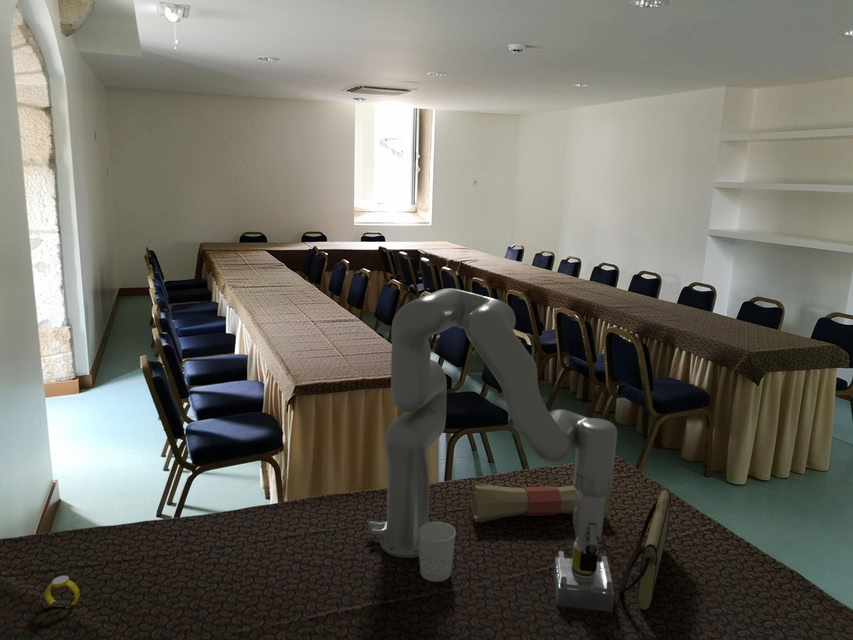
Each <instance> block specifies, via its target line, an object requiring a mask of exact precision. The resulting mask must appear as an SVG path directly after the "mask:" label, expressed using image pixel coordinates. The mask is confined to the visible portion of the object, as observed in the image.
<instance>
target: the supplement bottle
mask: <svg viewBox="0 0 853 640" xmlns="http://www.w3.org/2000/svg"><path fill="white" fill-rule="evenodd" d="M585 537H589V535H585ZM575 540H576V541H574V543H573V547H572V548H573V550H572V558H571V559H572V572H573V573H574V574H575V575H576V576H578V577H581V578H591V577H593V576H594V574H595V572H590V571H581V570H580V558H581V551H583V540H581V539H579V540H578V539H577V538H576V537H575ZM587 545H588V546H589V541H586V547H587Z"/></svg>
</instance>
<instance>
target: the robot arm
mask: <svg viewBox="0 0 853 640" xmlns="http://www.w3.org/2000/svg"><path fill="white" fill-rule="evenodd" d="M516 322H517V321H516V314H515V312H514V310H513V308H512V307H511V306H510V305H509V304H507V303H506V302H504V301H502V300H500V299H496V298H492V297H489V296H486V295H485V296H484V295H482V294H477V293H473V292H469V291H466V290H462V289H457V288H449V287H448V288H443V289H439V290H437V291H435V292H434V291H433V292H431V293H428V294H426V295H422V296H420V297H418V298H416V299H413V300H411V301H409V302H407V303H406V304H404V305H402V306H401V307H400V308H399V309H398V310H397V312H396V313H395V315H394V317H393V319H392V322H391V323H392V324H391V330H390V331H391V333H390V335H391V362H390V364H391V366H390V368H391V369H390V370H391V371H390V372H391V373H390V374H391V375H390V376H391V377H390V397H391V400H392V402H393V404H394V406H395V407H396V408H397V409H398V410H400V411H403V412H404V413H402V414H401V415H399V416H398V417H397V418H395V419H394V420H392V422H391V424H389V426H388V428H387V430H386V432H385V435H384V448H385V453H386V463H387V466H386V467H387V486H386V487H387V488H386V489H387V491H386V492H387V496H386V521H384V520H383V521H382V522H379V521H373V520H372V521H369V522H368V527H367V528H368V530H369V531H371V532H370V533H371V535H372V536H379V545H380V548H381V549H382V550H383V551H384V553H387V554H388V555H390V556H393V557H396V558H404V559H412V558H418V557H419V528H420V527H421V526H422V525H423V524H426V523H429V504H430V503H429V497H430V496H429V495H430V465H429V462H428V455H427V453H428V449H429V448H430V447H431V446H432V445H433V444H434V443H435V442H436V441H438V440H439V438H440V437H441V436H442V434H443V433H444V430H445V428H446V422H447V421H446V420H447V398H448V397H447V396H448V395H447V390H448V389H447V387H448V384H447V377H446V373H445V371H444V369H443V367H442V366H441V365H440V363H438V362H437V361H435V360H433V359H431V354H432V353H431V352H432V351H431V345H430V341H429V338H430V337H432V336H434V335H437V334H440V333H443V332H445V331H447V330H449V329H451V328H452V327H455V328H459V329H463V330H464V332H465V336H466V337H467V339H468V341H469V342H470V343H471V345H472V346H473V347H474V349H475V350H476V352H477V354H478V355H479V356H480V357H481V359H482V360H483V362H484V363H485V364H486V367H487V368H488V369H489V371H490V373H492V375H493V376H494V377H495V379H496V382H498V384H499V386H500V387H501V390H502V394H503V398H504V400H505V403H506V406H507V407H506V408H507V409H508V413H509V415H510V417H511V420H512V422H513V424H514V425H515V427H516V428H517V430H518V432H519V433H520V435H521V436H522V437H523V438H522V439H524V441H525V442H526V443H527V445H528V446H529V448H530V449H531V450H532V451H533V452H534V454H535V455H536V456H538V457H539V458H540V459H542V460H543V461H546V462H551V463H553V462H554V463H555V462H559V461H562V460H563V459H565V458H566V457H567V456H568V454H569V453H570V451H571V450H572V449H575V456H574V457H575V459H574V468H573V469H574V470H573V480H572V485H573V486H574V488H575V489H576V495H575V503H574V510H573V514H572V523H573V530H574V535H575V541H576V538H577V539H578V540H579V539H581V540H583V551H581V558H580V570H581V571H590V572H596V568H597V561H598V558H599V557H598V556H599V552H598V551H599V550H598V549H599V548H598V545H599V544H598V542H600V541H602V535H603V534H602V533H603V528H604V527H603V526H604V512H605V511H604V506H605V495H607V494H609V495H610V493H611V492H612V486H613V477H614V476H613V475H614V467H615V466H614V465H615V460H616V459H615V457H616V447H617V439H618V429H617V427H616V425H615V424H614V423H613V422H611V421H609V420H606V419H604V418H603V419H602V418H599V417H598V418H597V417H596V418H595V417H593V418H592V417H588V416H585V415H581V414H578V413H576V412H572V411H569V410H566V409H554V410H551V411H549V410H548V408H547V407H546V404H545V402H544V400H543V397H542V395H541V393H540V388H539V382H538V380H539V379H538V377H539V375H538V368H537V363H536V361H535V360H534V358H533V357H532V355H531V353H529V351H528V350H527V349H526V347H525V346H524V344H523V343H522V341H521V340H520V338H519V337H518V336H517V334H516V333H515V331H514V329H515V327H516ZM585 535H589V537H585ZM575 541H574V542H575ZM586 541H589V546H588V545H587V547H586Z"/></svg>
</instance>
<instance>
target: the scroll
mask: <svg viewBox="0 0 853 640" xmlns="http://www.w3.org/2000/svg"><path fill="white" fill-rule="evenodd" d="M471 486H472V487H471V498H470V499H469V500H470V509H471V510H472V511H471V516H473V515H474V516H473V519H474V518H475V519H476V520H475V519H474V521H475V523H476V522H478V523H479V522H480V523H485V522H490V521H493V520H497V519H502V518H508V517H514V516H521V515H523V516H524V517H539V516H542V517H543V516H545V517H546V516H557V515H558V514H570V515H571V514H572V515H573V510H574V503H575V495H576V489H575V488H574V486H573V484H572V485H565V486H558V487H557V486H555V485H554V486H550V485H549V486H524V487H523V488H522V487H512V486H511V487H510V486H501V485H493V484H485V483H479V482H473V484H472V485H471ZM610 498H611V497H610V493H609V494H607V495H605V506H604V518H605V519H606V518H607V517H608V516H609V514H610V512H609V511H610V502H611V500H610ZM604 518H603V519H604Z"/></svg>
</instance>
